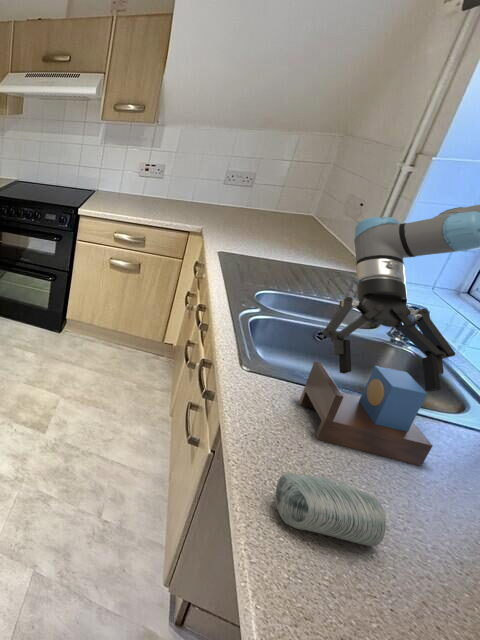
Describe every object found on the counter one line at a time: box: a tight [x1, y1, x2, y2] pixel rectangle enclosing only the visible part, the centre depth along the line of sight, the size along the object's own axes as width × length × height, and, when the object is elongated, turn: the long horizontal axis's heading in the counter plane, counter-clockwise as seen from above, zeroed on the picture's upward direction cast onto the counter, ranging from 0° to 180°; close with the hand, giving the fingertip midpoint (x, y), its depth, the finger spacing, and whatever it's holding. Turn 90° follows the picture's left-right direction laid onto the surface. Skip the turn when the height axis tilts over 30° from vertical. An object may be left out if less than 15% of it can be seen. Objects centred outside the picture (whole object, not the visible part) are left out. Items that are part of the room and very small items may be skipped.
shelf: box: [298, 361, 433, 467], centre depth 83 cm, size 16×12×11 cm
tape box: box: [359, 365, 428, 432], centre depth 81 cm, size 5×7×9 cm
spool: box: [275, 472, 387, 547], centre depth 64 cm, size 14×10×10 cm
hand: (387, 381), depth 82 cm, fingers open, 13 cm apart
